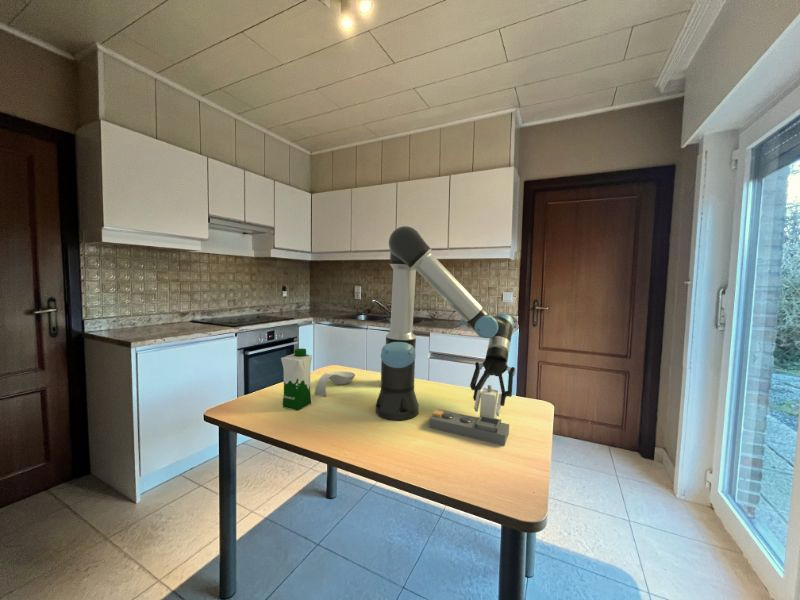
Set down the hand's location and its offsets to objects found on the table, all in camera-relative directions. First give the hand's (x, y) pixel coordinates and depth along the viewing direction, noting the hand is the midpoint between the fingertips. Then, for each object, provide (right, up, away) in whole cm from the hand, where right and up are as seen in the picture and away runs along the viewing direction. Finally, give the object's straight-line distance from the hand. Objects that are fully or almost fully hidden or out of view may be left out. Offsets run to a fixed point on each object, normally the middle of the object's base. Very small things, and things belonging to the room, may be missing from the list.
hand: (486, 411), depth 108 cm
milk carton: (-65, -2, +13) cm, 66 cm away
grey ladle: (-55, -1, +33) cm, 65 cm away
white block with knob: (+1, -4, +4) cm, 6 cm away
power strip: (-7, -5, -4) cm, 9 cm away
